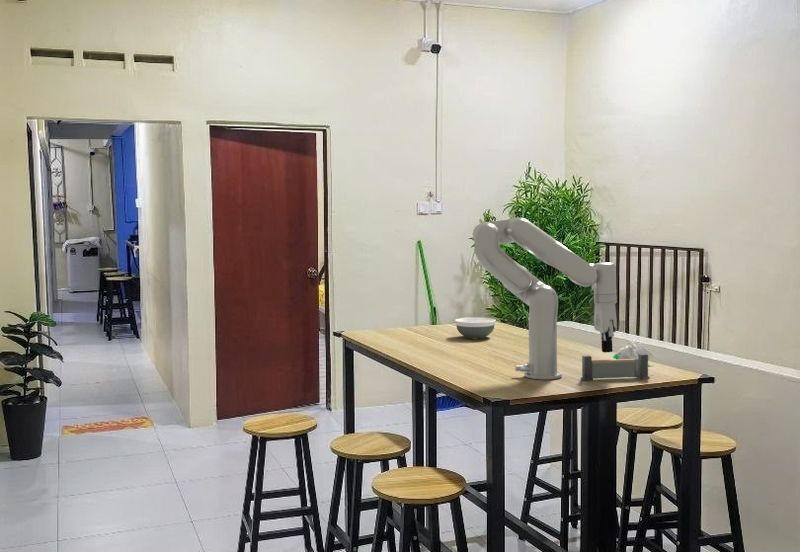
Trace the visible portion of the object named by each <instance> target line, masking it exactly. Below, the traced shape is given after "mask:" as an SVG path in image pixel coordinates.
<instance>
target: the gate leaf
mask: <svg viewBox="0 0 800 552" xmlns="http://www.w3.org/2000/svg"><path fill="white" fill-rule="evenodd" d="M638 377H639V359H620V358H619V359H617V360H616V359H595V360H593V359H592V378H593V380H595V379H618V378H619V379H621V378H638Z"/></svg>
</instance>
